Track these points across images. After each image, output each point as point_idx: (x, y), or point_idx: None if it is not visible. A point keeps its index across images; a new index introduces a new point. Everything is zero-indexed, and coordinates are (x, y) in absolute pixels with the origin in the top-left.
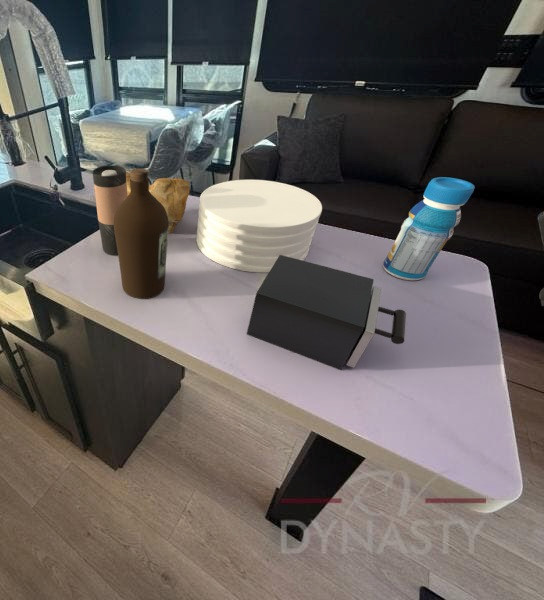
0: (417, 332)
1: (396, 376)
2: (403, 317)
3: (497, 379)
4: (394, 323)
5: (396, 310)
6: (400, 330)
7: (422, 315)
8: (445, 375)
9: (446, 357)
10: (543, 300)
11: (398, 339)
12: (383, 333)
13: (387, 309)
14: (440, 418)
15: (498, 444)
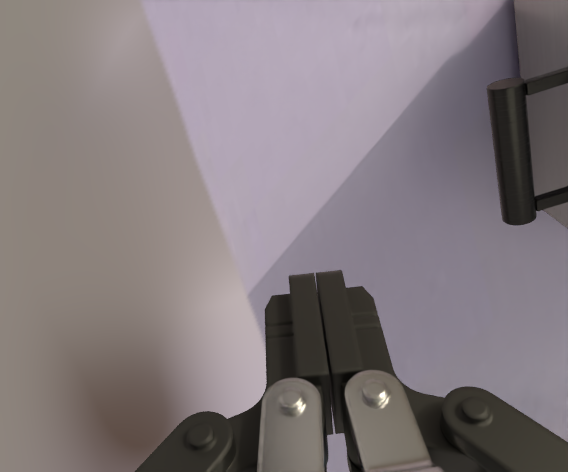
0: (403, 276)
1: (405, 76)
2: (517, 190)
3: (231, 251)
4: (530, 149)
5: (535, 214)
6: (516, 118)
7: (408, 343)
8: (316, 176)
9: (330, 239)
10: (352, 288)
11: (506, 83)
12: (550, 75)
13: (557, 202)
14: (287, 13)
15: (173, 39)
